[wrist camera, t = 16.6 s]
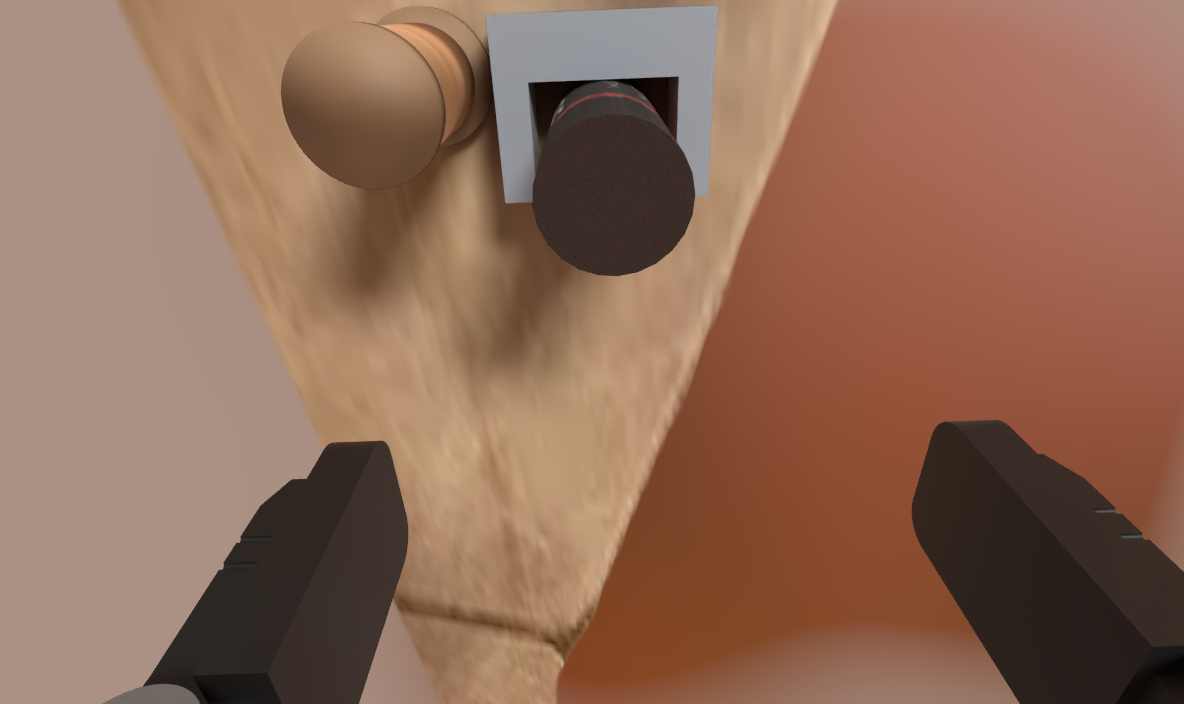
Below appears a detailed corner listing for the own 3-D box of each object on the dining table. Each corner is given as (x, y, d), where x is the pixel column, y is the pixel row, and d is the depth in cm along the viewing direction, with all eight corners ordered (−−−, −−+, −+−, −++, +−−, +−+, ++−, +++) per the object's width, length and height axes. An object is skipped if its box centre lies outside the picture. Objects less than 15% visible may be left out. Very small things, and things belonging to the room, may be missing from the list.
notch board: (495, 14, 33) (485, 15, 29) (703, 5, 32) (718, 5, 29) (512, 184, 37) (505, 203, 33) (695, 177, 37) (707, 195, 33)
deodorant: (561, 63, 34) (544, 98, 21) (666, 84, 34) (714, 132, 21) (545, 171, 37) (521, 261, 24) (642, 189, 37) (672, 287, 24)
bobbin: (352, 9, 32) (242, 10, 22) (485, 3, 32) (438, 2, 22) (380, 146, 36) (296, 204, 25) (499, 142, 36) (465, 197, 25)
